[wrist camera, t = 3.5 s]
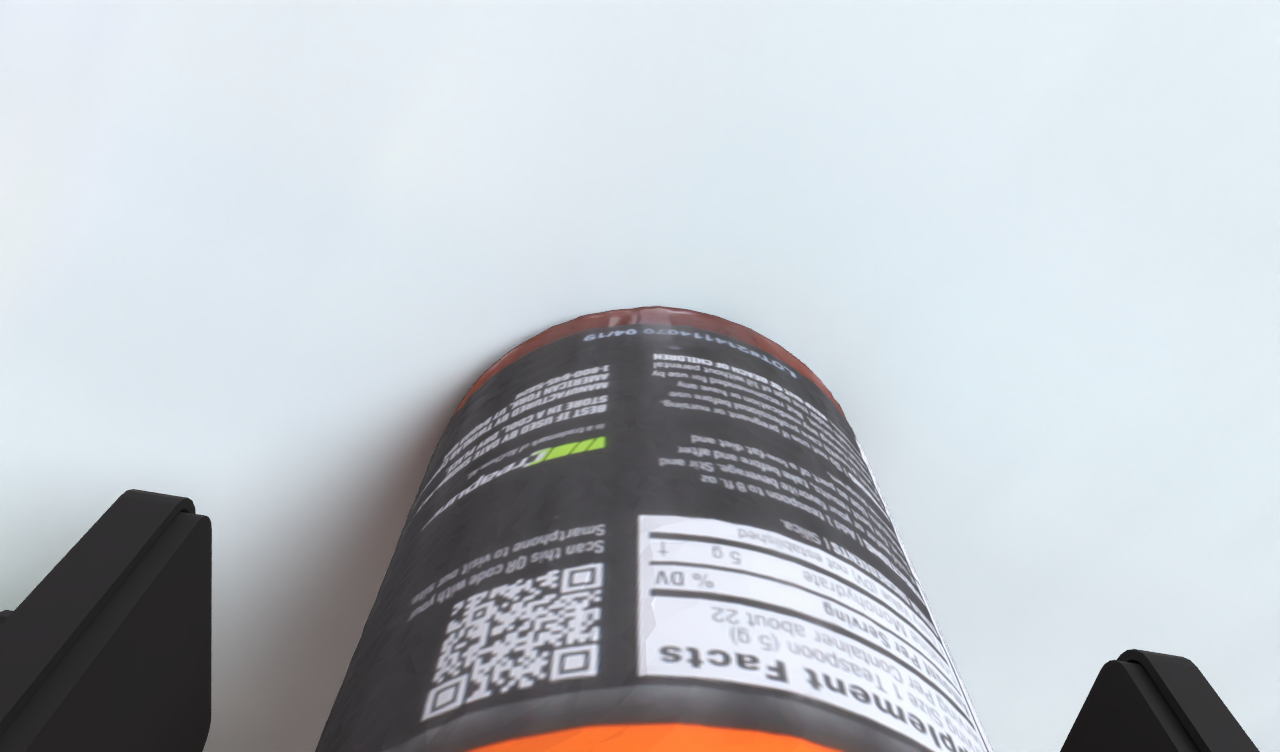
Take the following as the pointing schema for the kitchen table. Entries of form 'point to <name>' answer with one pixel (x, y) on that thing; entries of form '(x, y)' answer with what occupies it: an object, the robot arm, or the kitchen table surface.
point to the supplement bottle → (651, 565)
